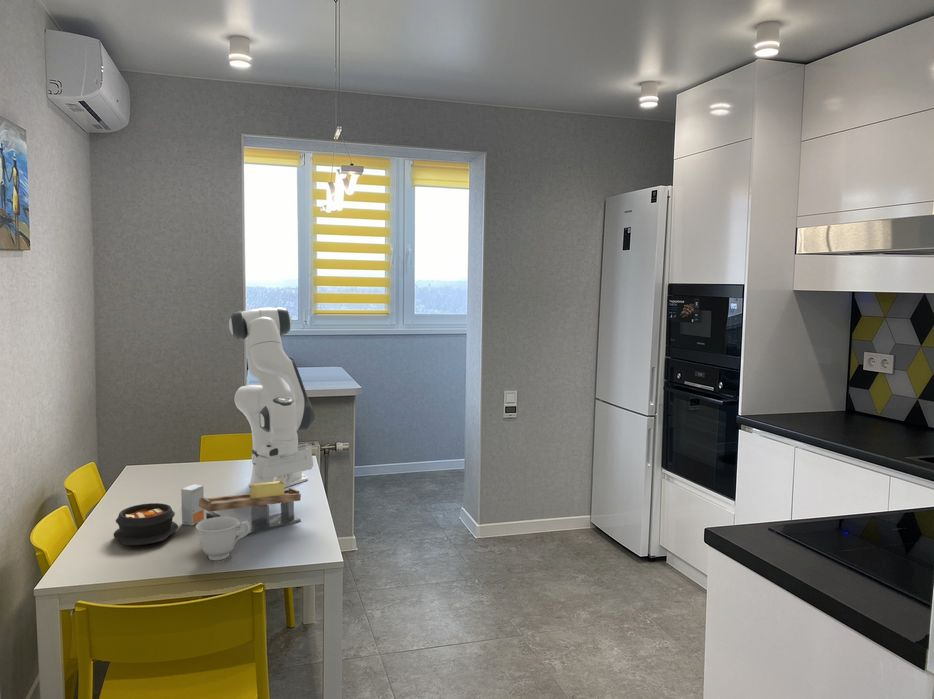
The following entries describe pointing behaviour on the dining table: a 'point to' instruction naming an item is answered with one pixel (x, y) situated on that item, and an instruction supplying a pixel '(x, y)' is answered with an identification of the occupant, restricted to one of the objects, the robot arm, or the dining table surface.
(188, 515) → the skincare box
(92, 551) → the dining table surface
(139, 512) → the casserole
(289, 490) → the balance plank
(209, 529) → the teacup
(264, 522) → the fulcrum stand
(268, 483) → the slider block
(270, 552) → the dining table surface
